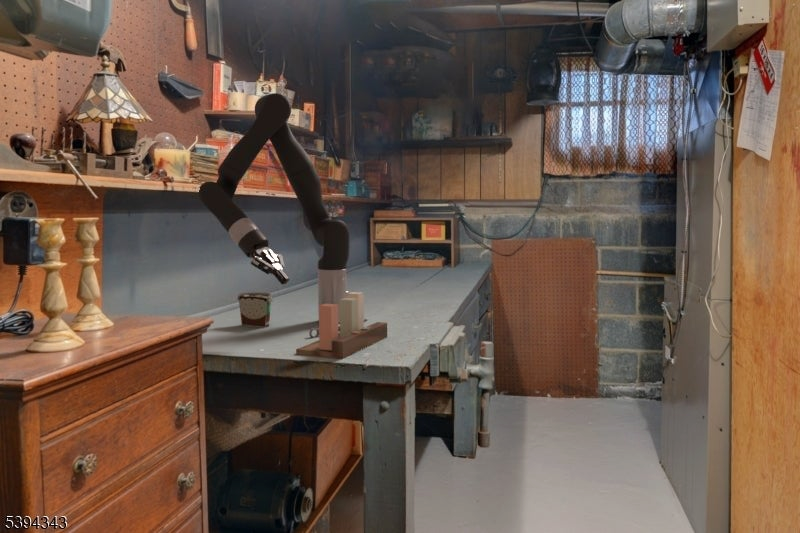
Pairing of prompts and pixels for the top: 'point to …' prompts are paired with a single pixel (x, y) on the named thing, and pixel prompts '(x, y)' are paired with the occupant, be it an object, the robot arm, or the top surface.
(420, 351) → the top surface
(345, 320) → the sage key
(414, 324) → the top surface
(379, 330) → the brown wooden base
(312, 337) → the combination wrench
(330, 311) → the terracotta key
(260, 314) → the food container
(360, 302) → the tan upright block
